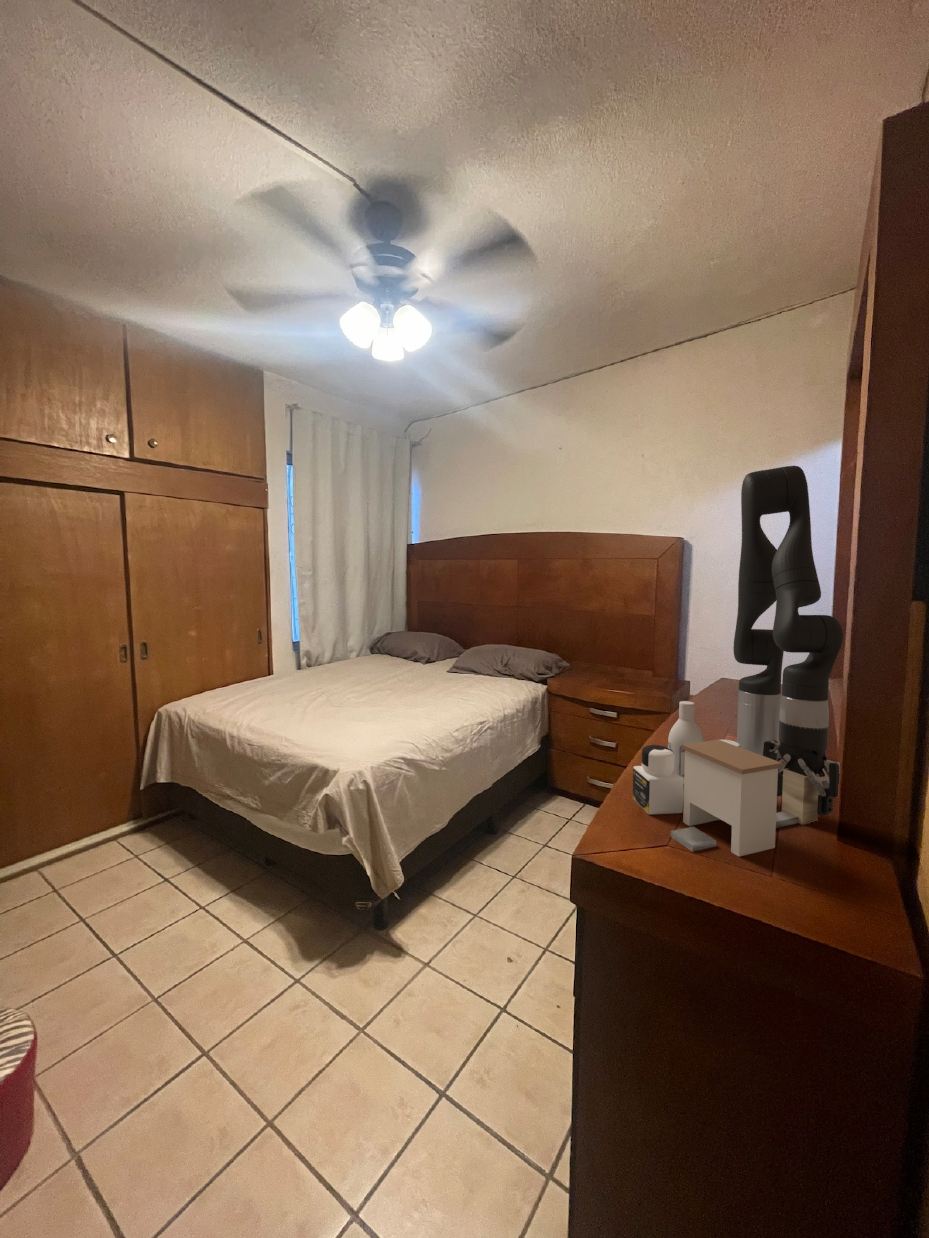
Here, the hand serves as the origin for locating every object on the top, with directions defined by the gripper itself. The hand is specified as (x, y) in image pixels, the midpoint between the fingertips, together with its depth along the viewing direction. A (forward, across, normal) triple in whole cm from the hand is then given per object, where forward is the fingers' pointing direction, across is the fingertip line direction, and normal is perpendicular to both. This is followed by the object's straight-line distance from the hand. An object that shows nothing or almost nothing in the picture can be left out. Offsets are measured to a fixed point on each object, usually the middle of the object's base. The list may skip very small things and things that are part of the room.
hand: (799, 804), depth 89 cm
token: (+3, 0, +25) cm, 26 cm away
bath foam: (+3, +15, +13) cm, 20 cm away
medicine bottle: (+3, +13, +22) cm, 26 cm away
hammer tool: (+3, 0, +6) cm, 7 cm away
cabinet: (+3, 0, +18) cm, 18 cm away
